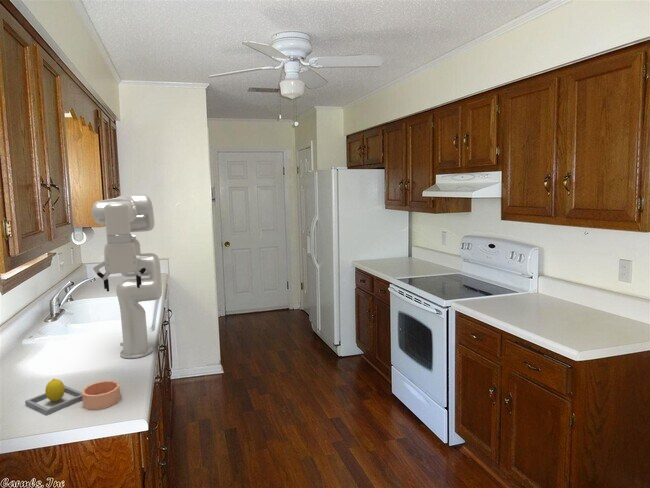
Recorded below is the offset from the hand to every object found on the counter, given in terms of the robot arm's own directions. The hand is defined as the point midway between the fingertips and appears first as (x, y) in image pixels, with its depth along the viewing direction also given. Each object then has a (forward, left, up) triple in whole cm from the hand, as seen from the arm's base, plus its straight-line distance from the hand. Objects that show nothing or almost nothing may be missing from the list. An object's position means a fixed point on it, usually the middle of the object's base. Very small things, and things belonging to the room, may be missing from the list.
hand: (123, 289), depth 162 cm
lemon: (-12, -20, -36) cm, 42 cm away
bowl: (+1, -12, -35) cm, 37 cm away
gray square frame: (-12, -20, -35) cm, 42 cm away
